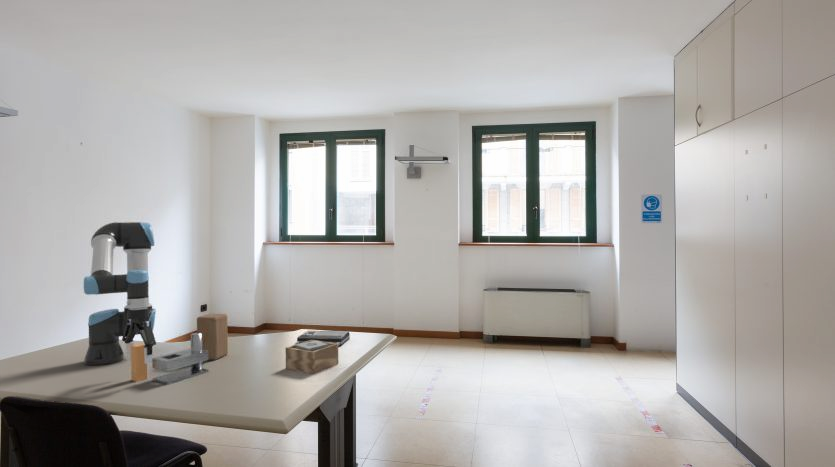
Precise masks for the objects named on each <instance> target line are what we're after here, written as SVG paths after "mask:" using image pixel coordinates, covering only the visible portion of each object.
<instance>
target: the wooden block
mask: <svg viewBox="0 0 835 467" xmlns="http://www.w3.org/2000/svg"><path fill="white" fill-rule="evenodd" d="M196 333H202V349H203V350H208V360H207V361H215V360H219V359H220V358H224V357H225V356H227V355H228V353H229V352H228V351H229V350H228V347H229V346H228V344H229V343H228V340H229V339H228V336H229V334H228V314H226V313H207V314H204V315H200V316H198V317H197V318H196Z"/></svg>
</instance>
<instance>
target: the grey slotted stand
mask: <svg viewBox="0 0 835 467" xmlns="http://www.w3.org/2000/svg"><path fill="white" fill-rule="evenodd" d="M205 361H209V360H208V350H203V349H202V333H197V332H193V333H191V334H190V348H186V349H183V350H180V351H179V350H178V351H174V352H171V353H168V354H164V355H159V356H156V357H152V362H151V363H152V367H151V368H152V369H156V370H159V371H163V372H166V373H167V372H170V371H174V370H177V371H174V372H170V373H167V374H163V375H159V376H156V377H152V381H154V382H157V383H161V384H165V385H170V384H173V383H177V382H179V381H183V380H185V379H189V378H193V377H195V376H198V375H201V374H206V373H207V372H208V373H209V369H207V368H203V362H205ZM188 366H190V367H188ZM185 367H187V368H185ZM180 368H181V370H180ZM182 368H183V369H182ZM178 369H179V370H178Z"/></svg>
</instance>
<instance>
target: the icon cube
mask: <svg viewBox="0 0 835 467" xmlns="http://www.w3.org/2000/svg"><path fill="white" fill-rule="evenodd" d="M294 345H295V344H294ZM295 346H296V349H301V350H307V351H316V350H319V349H322V348H325V347H328V344H326V343H322V342H318V341H315V340H314V341H310V342H306V343H302V344H297V345H295Z"/></svg>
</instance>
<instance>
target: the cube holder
mask: <svg viewBox="0 0 835 467" xmlns="http://www.w3.org/2000/svg"><path fill="white" fill-rule="evenodd" d="M310 341H314V340H309V341H306V342H310ZM315 341H317V340H315ZM306 342H302V343H306ZM318 342H322V343H326V344H328V347H325V348H322V349H319V350H316V351H307V350H301V349H296V346H295V344H294V345H290V346H286V347H285V369H287V368H288V370H292V369H293V371H298V372H303V373H306V374H310V375H311V374H312V375H314V374H316V373H319V372H322V371H324V370H327V369H329V368H331V367H334V366H336V365H337V366H338V364H339V346H338V344H336V343H330V342H323V341H318ZM302 343H299V344H302ZM296 345H297V344H296Z"/></svg>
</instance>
